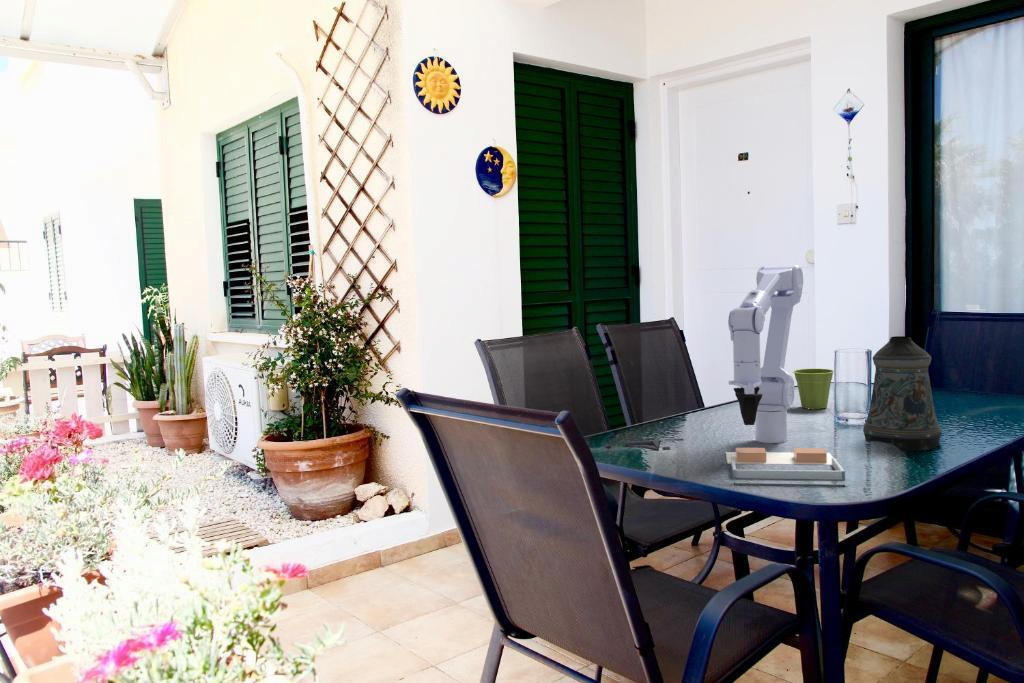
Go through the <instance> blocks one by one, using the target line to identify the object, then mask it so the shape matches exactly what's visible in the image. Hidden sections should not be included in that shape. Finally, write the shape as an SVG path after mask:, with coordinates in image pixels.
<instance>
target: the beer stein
mask: <svg viewBox="0 0 1024 683" xmlns="http://www.w3.org/2000/svg"><path fill="white" fill-rule="evenodd" d="M872 361H873V365H874V366H875V373H874V379H873V384H872V393H871V399H870V405H869V410H868V413H867V418H866V420H865V423H864V425H863V428H862V429H863V434H864V438H865V442H879V443H880V442H881V443H886V444H887V443H888V444H892V445H894V446H895V447H896V448H897V449H898V450H900V451H926V450H927V449H928V450H932V449H936V447H937V446H938V447H939V445H940V440H941V436H942V433H943V432H942V429H941V427H940V425H939V422H938V419H937V416H936V412H935V408H934V399H933V394H932V386H931V380H930V376H929V366H930V365H931V361H932V356H931V355H930V354H929V353H928V352H927V351H926V350H925V349H923V348H922V347H920V346H919V345H917V344H916V343H915V342H914V341H913V339H912V336H903V335H899V336H896V335H895V336H890V338H889V340H888V341H887V342H886V343H885V344H884V345H883V346H882V347H881V348H880V349H878V350H877V351H876V352H875V354H873V356H872ZM938 447H937V448H938ZM931 448H932V449H931Z"/></svg>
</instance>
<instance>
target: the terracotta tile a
mask: <svg viewBox="0 0 1024 683" xmlns="http://www.w3.org/2000/svg"><path fill="white" fill-rule="evenodd" d="M735 452H736V459H737V462H766V452H767V451H766V449H765V447H735Z"/></svg>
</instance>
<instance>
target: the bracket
mask: <svg viewBox="0 0 1024 683" xmlns="http://www.w3.org/2000/svg"><path fill="white" fill-rule="evenodd" d="M661 441H662V439H653V440H652V439H651V440H638V441H637V440H635V441H625V443H624V446H626V448H628V447H629V448H640V447H642V448H643V449H650V450H655V451H658V452H659V450H660V445H661ZM666 441H677V442H678V441H679V442H680V441H682V442H683V441H684V438H669V439H666ZM662 449H663V450H664V451H671V447H670V446H663V447H662Z"/></svg>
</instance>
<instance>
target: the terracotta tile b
mask: <svg viewBox="0 0 1024 683" xmlns="http://www.w3.org/2000/svg"><path fill="white" fill-rule="evenodd" d="M792 449H793V451H792V453H794V459H795V461H796V462H800V463H827V453H828V452H826V451H825V449H824V448H823V447H793V448H792Z"/></svg>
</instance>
